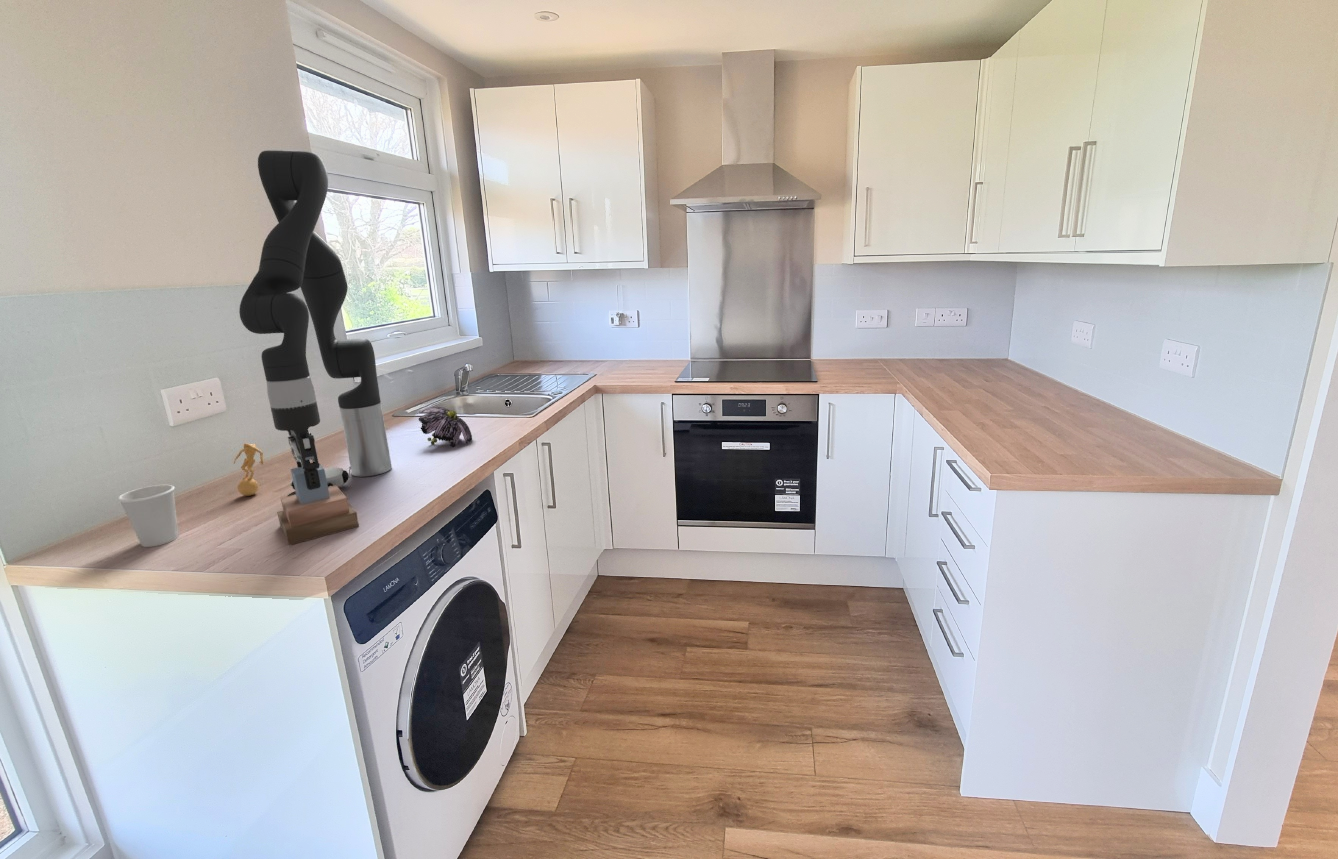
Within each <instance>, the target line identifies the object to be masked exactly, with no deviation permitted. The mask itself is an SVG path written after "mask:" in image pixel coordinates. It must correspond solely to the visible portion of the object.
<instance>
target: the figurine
mask: <svg viewBox="0 0 1338 859" xmlns="http://www.w3.org/2000/svg"><path fill="white" fill-rule="evenodd" d="M243 452H244V454H245V456H246V457H245V458H244V460H243V463H242V465H241V466H240V469H241V470H242V471H243V472H245V473H246V474H245V476H244V477H243V478H242V480H241V481H240V482H238V484H237V491H238V492H239V493H240V495H242V496H246V497H249V496H250V497H251V496H252V495H254V494H256V493H257V492H258V490H259V488H260V486H259V482H257V480H256V479H254V478H253V477H254V473H255V470H254V469H252V468H253V467H254V465H255V463H256V459H255V458H254V457H255V455H256V453H259V455H260V461H259V465H260V466H263V465H264V457H263V454H264V452H263V451H262V450H261V449H259V448H258V446H257V445H256V444H255V443H247V442H244V444H243V448H242V449H240V450H239V453H238V454H237V455H236V457H235V459H234V461H233V464H236V461H237V460H238V459H239V458H240V457H241V455H242V453H243ZM250 473H251V474H250ZM249 475H250V476H249Z"/></svg>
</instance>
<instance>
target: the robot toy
mask: <svg viewBox="0 0 1338 859" xmlns="http://www.w3.org/2000/svg"><path fill="white" fill-rule="evenodd" d="M323 468H324V467H323ZM348 468H349V470H348V471H347V470H344V469H343V468H342V467H325V468H324V470H325V475H326V480H327V485H328V487H331V486H335V485H336V486H337V487H338V488H339V489H340V488H341V487H344V484H346V483H347V482H348V480H349V478H350V479H351V466H350V465H349V467H348ZM289 484H290V486H291V487H292V490H294V491H292V492H290V493H288V494H287V496H291V495H295V494H296V492H295V487H294V483H293V478H291V481H290V483H289ZM287 496H286V497H287Z"/></svg>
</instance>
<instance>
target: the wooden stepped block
mask: <svg viewBox="0 0 1338 859" xmlns="http://www.w3.org/2000/svg"><path fill="white" fill-rule="evenodd" d="M328 490H329V495H330V498H328V499H323V500H319V501H315V502H311V503H307V504H302V505H301V504H300V502H299V501H298V499H297V497H296V494H295V495H291V496H284V497H280V501H281V507H282V510H279V511H277V513H276V514H277V518H278V522H279V526H280V529H281V530H282V533H283V535H284V537H285V539H286V541H287V544H288V546H291V545H294V544H298V543H302V542H306V541H309V540H314V539H317V538H320V537H323V536H329V535H332V534H335V533H336V534H337V533H339V532H340V533H341V532H343V531H348V530H351V529H354V528H358V527H359V526H360V524H359V519H358V514H357V511H356V510H355V509H354V507H353V506H351V504H350V503H349V502H348V498H347V496H346V495H345V494H344V493H343V491H342V490H341V489H340V487H339V488H338V487H337V486H336V485H335V486H331V487H328Z"/></svg>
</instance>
